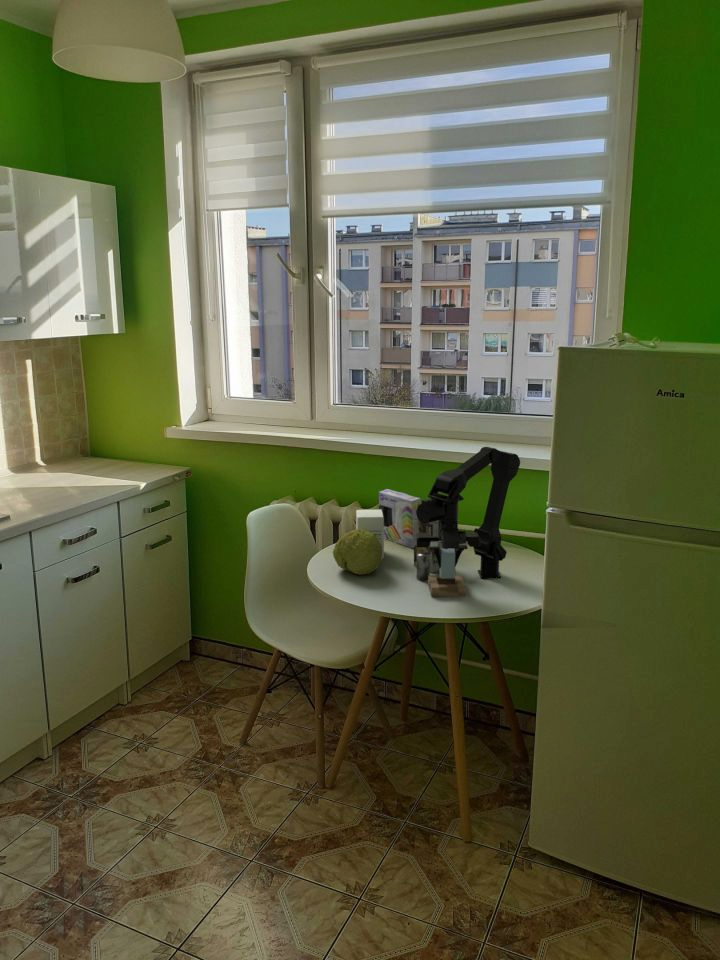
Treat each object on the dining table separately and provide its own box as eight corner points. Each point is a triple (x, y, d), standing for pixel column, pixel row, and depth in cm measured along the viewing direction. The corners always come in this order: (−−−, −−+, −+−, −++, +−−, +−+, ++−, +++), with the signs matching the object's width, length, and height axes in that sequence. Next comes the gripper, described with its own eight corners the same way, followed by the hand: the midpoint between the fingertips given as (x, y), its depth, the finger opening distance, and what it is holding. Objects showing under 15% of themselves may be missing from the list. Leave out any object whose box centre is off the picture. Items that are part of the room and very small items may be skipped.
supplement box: (356, 551, 266) (355, 509, 262) (382, 550, 266) (382, 508, 263) (357, 560, 257) (356, 517, 253) (384, 559, 257) (384, 516, 254)
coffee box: (446, 568, 249) (447, 520, 245) (432, 573, 245) (433, 524, 241) (427, 561, 256) (427, 514, 252) (412, 565, 252) (413, 518, 248)
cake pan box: (377, 536, 281) (377, 489, 277) (387, 533, 284) (387, 487, 280) (412, 550, 267) (412, 500, 262) (423, 547, 270) (423, 498, 265)
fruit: (324, 576, 243) (322, 529, 246) (352, 580, 254) (350, 535, 258) (366, 570, 233) (363, 521, 237) (392, 574, 244) (390, 527, 248)
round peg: (415, 576, 243) (416, 552, 241) (429, 575, 243) (429, 551, 241) (417, 581, 238) (417, 556, 237) (430, 580, 239) (431, 556, 237)
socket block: (428, 584, 236) (428, 575, 235) (460, 583, 236) (461, 574, 235) (431, 597, 226) (431, 587, 225) (465, 596, 226) (465, 587, 225)
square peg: (439, 573, 232) (439, 548, 230) (452, 573, 232) (453, 548, 230) (441, 578, 228) (441, 553, 226) (454, 578, 228) (455, 552, 226)
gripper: (418, 525, 217) (418, 577, 221) (484, 524, 218) (483, 576, 222) (415, 514, 228) (414, 564, 232) (478, 513, 228) (476, 563, 232)
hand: (447, 567), depth 229 cm, fingers closed on square peg, 4 cm apart
